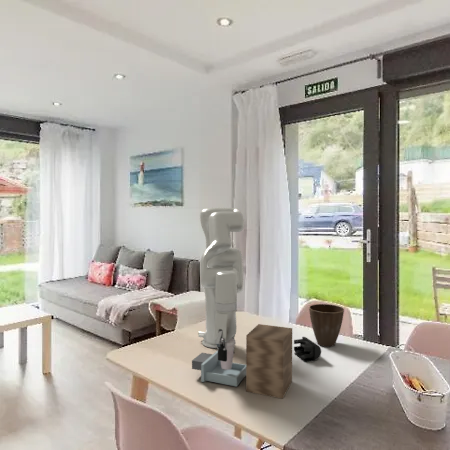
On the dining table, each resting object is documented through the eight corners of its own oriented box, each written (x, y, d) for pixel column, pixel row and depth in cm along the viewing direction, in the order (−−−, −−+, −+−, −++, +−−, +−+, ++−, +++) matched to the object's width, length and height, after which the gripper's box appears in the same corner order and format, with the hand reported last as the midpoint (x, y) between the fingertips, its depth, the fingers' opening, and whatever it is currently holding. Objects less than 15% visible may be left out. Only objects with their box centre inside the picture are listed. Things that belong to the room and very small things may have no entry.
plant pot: (304, 338, 173) (304, 304, 172) (335, 337, 174) (336, 303, 174) (315, 350, 158) (315, 313, 158) (349, 349, 160) (349, 312, 159)
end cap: (321, 360, 148) (321, 344, 148) (305, 363, 146) (305, 345, 146) (308, 351, 157) (308, 335, 157) (293, 353, 155) (293, 337, 155)
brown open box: (246, 391, 123) (246, 335, 122) (258, 375, 135) (258, 324, 134) (282, 398, 118) (283, 340, 118) (292, 381, 130) (292, 328, 130)
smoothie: (237, 365, 135) (237, 326, 134) (232, 372, 129) (232, 332, 128) (221, 362, 137) (221, 324, 136) (214, 369, 131) (214, 330, 130)
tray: (188, 379, 131) (188, 362, 131) (205, 364, 144) (205, 348, 143) (235, 388, 124) (235, 370, 124) (248, 371, 137) (248, 355, 136)
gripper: (225, 300, 141) (225, 347, 142) (205, 311, 125) (206, 364, 126) (244, 301, 138) (244, 350, 139) (226, 314, 122) (226, 368, 123)
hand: (226, 356), depth 133 cm, fingers closed on smoothie, 6 cm apart
